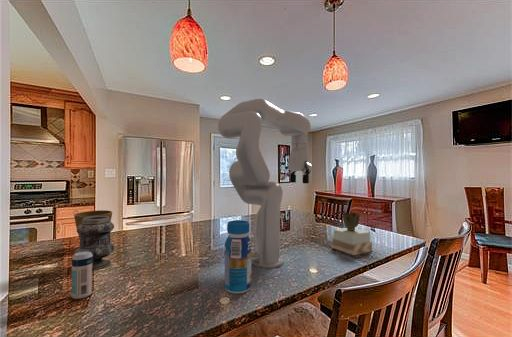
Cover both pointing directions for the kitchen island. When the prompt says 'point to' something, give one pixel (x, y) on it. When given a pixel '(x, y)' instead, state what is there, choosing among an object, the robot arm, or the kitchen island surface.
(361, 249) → the box
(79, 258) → the white pill bottle
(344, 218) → the dark brown tapered piece
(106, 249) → the dark grey carved vase
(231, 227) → the beverage bottle
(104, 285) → the kitchen island surface
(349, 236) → the tower top
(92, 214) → the plant pot
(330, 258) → the kitchen island surface
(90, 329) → the kitchen island surface
